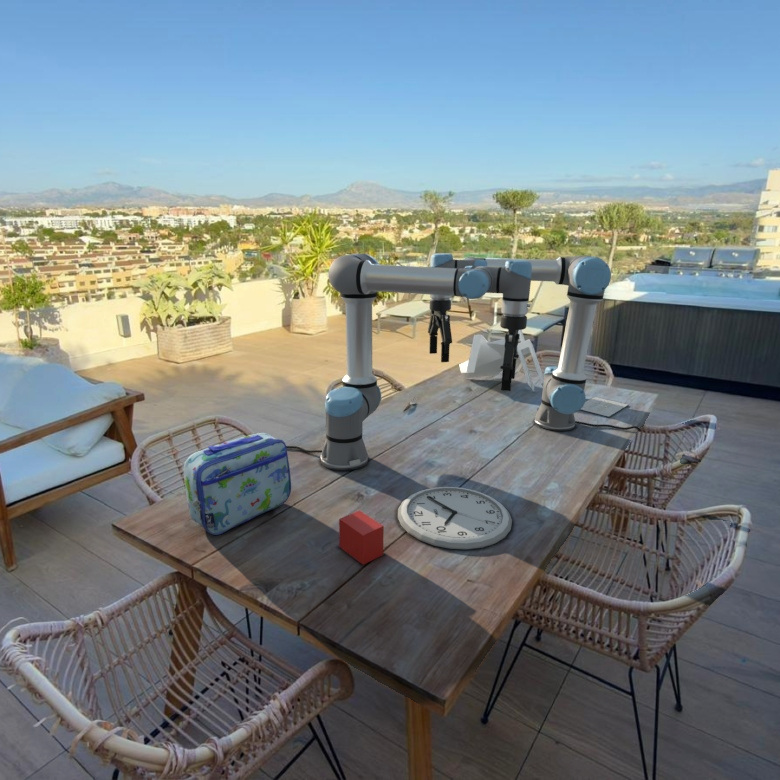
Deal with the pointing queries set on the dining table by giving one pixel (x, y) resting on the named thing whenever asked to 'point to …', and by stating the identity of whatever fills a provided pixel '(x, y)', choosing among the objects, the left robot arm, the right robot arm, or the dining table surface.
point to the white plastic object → (497, 358)
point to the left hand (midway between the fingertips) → (507, 384)
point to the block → (361, 537)
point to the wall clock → (454, 518)
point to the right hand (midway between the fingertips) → (438, 357)
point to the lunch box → (236, 481)
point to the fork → (411, 403)
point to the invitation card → (602, 406)
